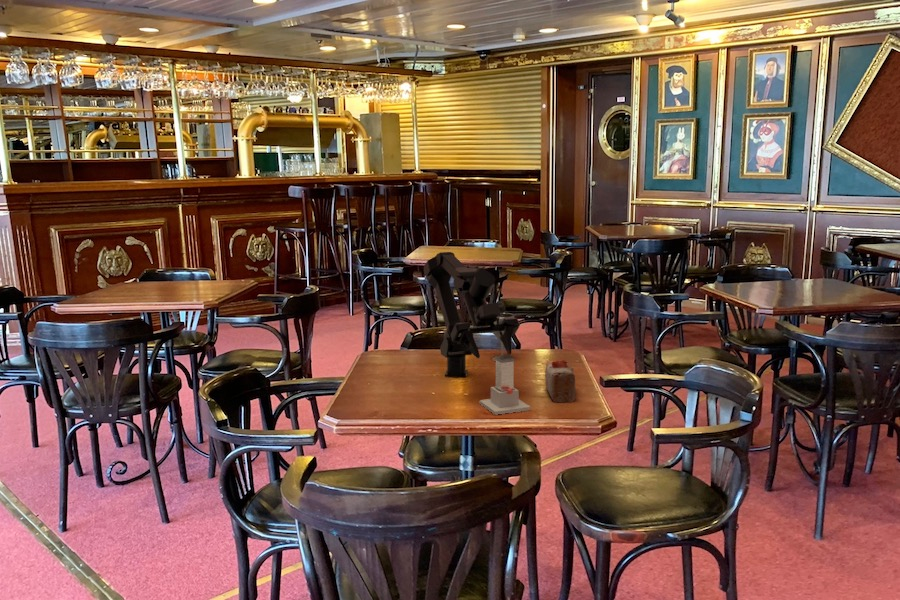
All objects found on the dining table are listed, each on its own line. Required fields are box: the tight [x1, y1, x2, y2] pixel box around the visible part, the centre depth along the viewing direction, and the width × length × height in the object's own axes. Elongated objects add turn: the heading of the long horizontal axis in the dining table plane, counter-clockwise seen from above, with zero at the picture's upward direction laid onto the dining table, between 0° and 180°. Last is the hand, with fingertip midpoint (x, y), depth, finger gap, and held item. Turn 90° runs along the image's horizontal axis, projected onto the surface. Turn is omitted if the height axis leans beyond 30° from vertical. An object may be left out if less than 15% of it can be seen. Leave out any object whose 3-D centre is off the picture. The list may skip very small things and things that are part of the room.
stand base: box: [478, 386, 531, 416], centre depth 188 cm, size 10×10×6 cm
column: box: [494, 354, 516, 392], centre depth 188 cm, size 4×4×12 cm
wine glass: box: [491, 312, 515, 361], centre depth 236 cm, size 8×8×15 cm
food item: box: [544, 360, 576, 403], centre depth 198 cm, size 14×8×10 cm, turn 1°
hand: (494, 355), depth 192 cm, fingers open, 9 cm apart
